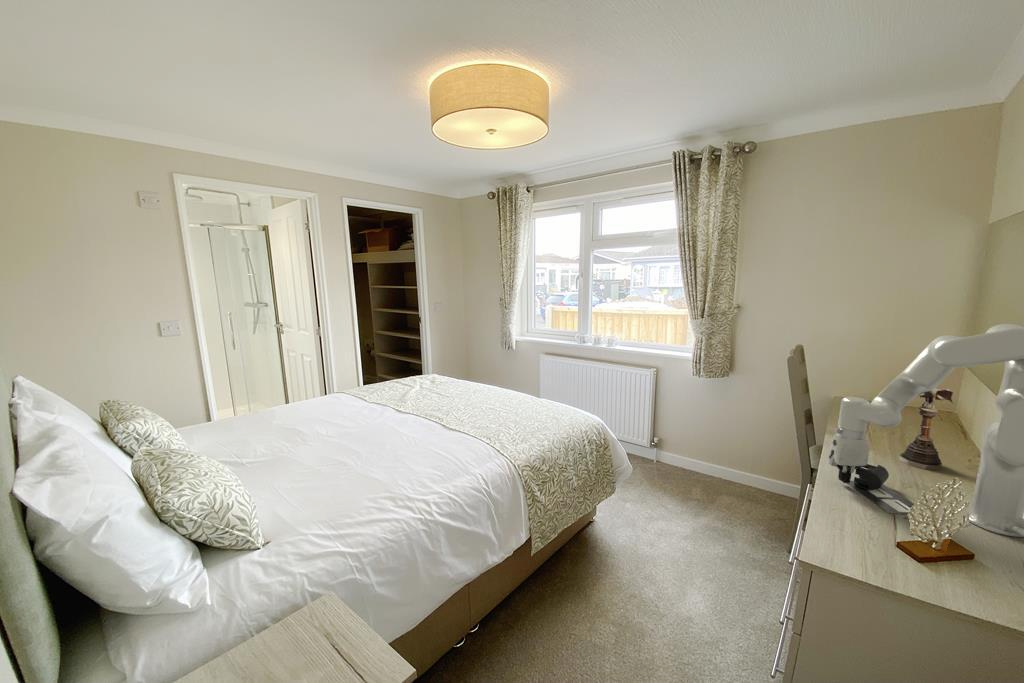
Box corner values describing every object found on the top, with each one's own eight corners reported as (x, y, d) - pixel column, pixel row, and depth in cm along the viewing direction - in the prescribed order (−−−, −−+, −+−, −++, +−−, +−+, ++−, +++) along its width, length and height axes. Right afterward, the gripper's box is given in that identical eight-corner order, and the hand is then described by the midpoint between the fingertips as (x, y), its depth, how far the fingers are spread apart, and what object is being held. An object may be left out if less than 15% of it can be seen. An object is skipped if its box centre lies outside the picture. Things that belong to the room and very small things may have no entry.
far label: (893, 497, 130) (893, 497, 130) (877, 497, 131) (877, 496, 131) (869, 482, 140) (870, 481, 140) (854, 481, 141) (854, 481, 141)
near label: (916, 513, 122) (916, 512, 122) (899, 512, 123) (899, 511, 123) (897, 500, 129) (897, 499, 129) (880, 499, 130) (880, 499, 130)
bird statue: (899, 449, 166) (911, 369, 160) (944, 460, 156) (959, 375, 150) (890, 460, 156) (903, 376, 150) (938, 473, 146) (954, 382, 140)
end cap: (879, 494, 132) (882, 476, 131) (852, 485, 138) (855, 467, 136) (887, 485, 138) (890, 468, 137) (861, 477, 143) (864, 460, 142)
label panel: (932, 515, 121) (932, 515, 121) (889, 513, 122) (889, 513, 122) (879, 482, 140) (879, 481, 140) (843, 480, 142) (843, 480, 142)
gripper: (835, 436, 132) (828, 485, 136) (883, 437, 131) (875, 488, 134) (820, 427, 140) (814, 475, 143) (865, 429, 138) (858, 476, 141)
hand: (843, 481), depth 139 cm, fingers closed
